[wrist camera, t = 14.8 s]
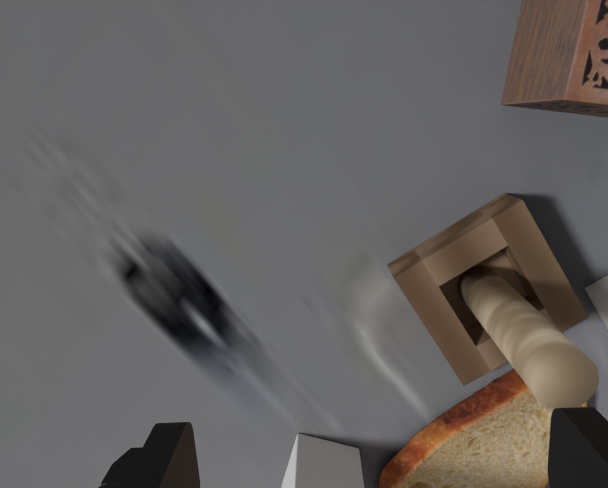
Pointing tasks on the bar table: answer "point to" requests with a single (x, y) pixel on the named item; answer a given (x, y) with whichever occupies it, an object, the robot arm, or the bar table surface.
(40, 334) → the bar table surface
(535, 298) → the socket block
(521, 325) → the dowel
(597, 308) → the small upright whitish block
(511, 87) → the tissue box cover
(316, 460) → the milk
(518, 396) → the bread slice
